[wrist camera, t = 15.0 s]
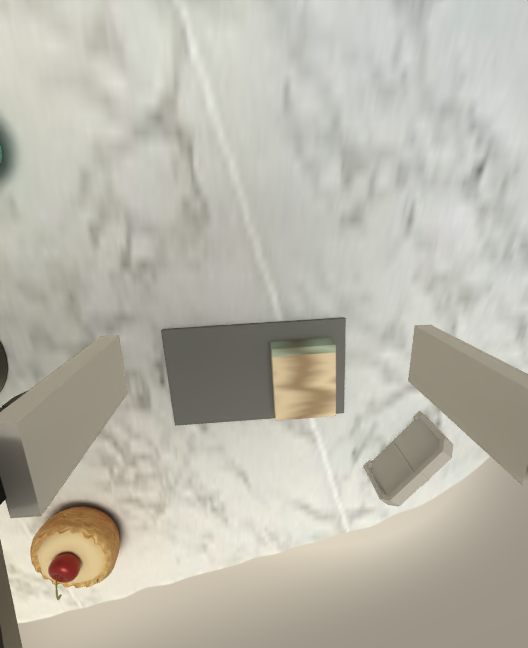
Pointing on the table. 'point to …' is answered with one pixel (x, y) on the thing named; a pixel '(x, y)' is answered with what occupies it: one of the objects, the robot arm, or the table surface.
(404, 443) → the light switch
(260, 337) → the mat
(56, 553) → the pastry
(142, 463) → the table surface
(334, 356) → the tan and green block
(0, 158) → the cupcake
